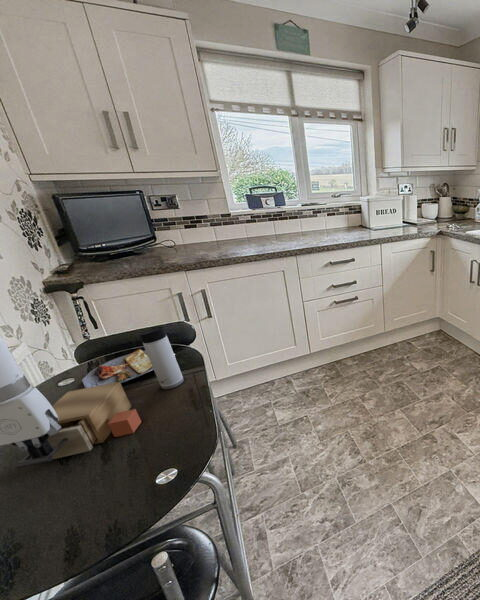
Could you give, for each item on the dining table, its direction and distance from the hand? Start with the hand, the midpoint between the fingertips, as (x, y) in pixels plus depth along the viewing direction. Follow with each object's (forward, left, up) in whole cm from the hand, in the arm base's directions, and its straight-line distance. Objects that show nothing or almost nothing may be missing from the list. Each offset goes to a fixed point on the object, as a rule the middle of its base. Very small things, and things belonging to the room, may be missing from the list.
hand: (45, 457), depth 74 cm
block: (+13, +6, -4) cm, 15 cm away
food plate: (+11, +45, -5) cm, 46 cm away
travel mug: (+24, +24, -5) cm, 34 cm away
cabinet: (+5, +14, -4) cm, 15 cm away
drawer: (+2, +7, -4) cm, 8 cm away
